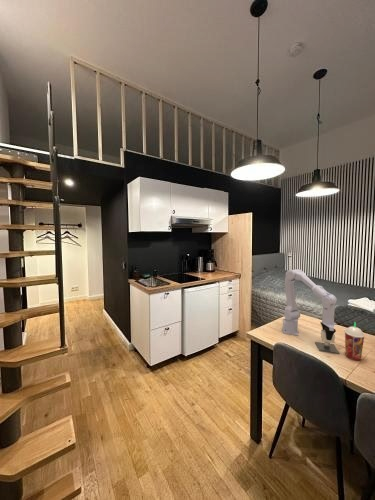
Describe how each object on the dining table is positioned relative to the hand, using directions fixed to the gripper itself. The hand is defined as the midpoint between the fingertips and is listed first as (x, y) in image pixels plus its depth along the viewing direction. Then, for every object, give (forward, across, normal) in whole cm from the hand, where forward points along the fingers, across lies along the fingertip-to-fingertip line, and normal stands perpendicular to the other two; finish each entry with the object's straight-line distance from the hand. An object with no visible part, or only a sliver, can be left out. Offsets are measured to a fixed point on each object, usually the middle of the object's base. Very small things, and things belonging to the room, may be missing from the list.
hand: (327, 337), depth 124 cm
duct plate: (+7, 0, 0) cm, 7 cm away
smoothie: (+7, -6, -11) cm, 14 cm away
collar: (+2, 0, 0) cm, 2 cm away
